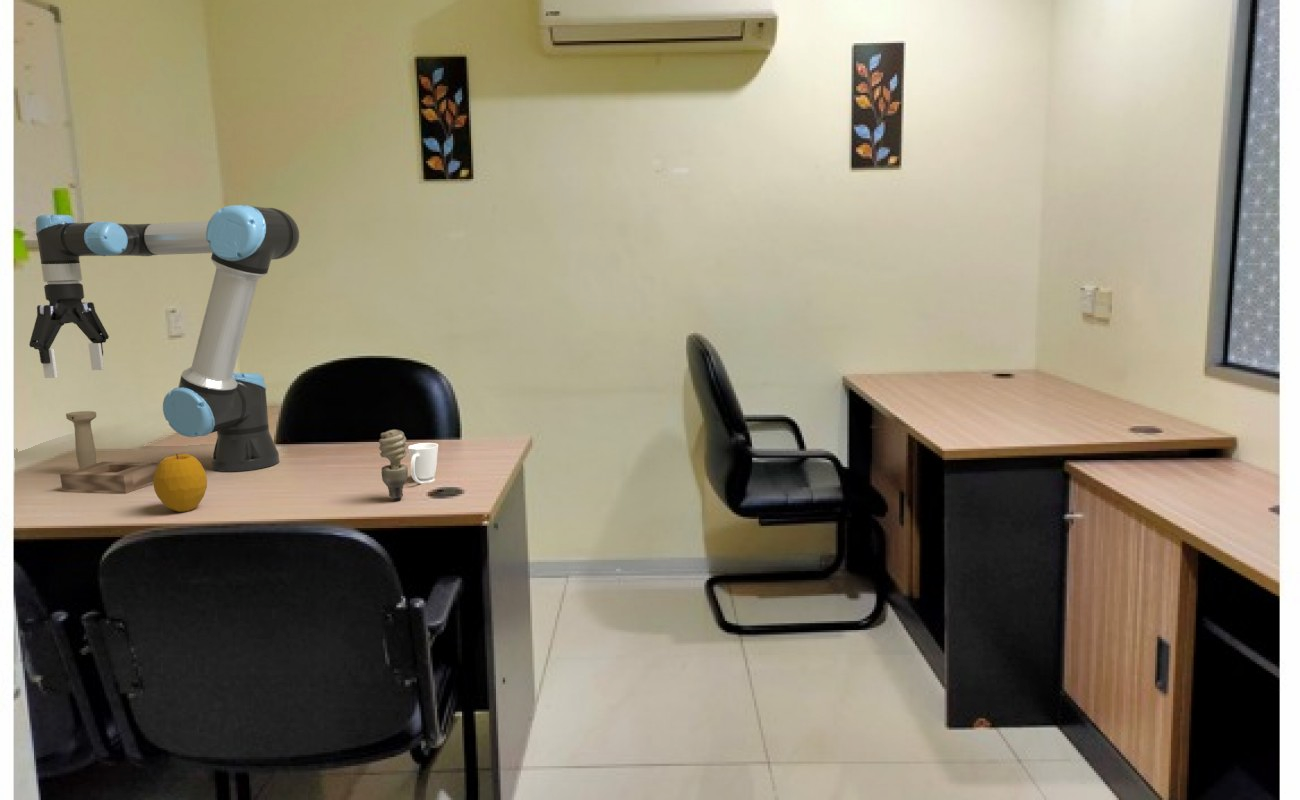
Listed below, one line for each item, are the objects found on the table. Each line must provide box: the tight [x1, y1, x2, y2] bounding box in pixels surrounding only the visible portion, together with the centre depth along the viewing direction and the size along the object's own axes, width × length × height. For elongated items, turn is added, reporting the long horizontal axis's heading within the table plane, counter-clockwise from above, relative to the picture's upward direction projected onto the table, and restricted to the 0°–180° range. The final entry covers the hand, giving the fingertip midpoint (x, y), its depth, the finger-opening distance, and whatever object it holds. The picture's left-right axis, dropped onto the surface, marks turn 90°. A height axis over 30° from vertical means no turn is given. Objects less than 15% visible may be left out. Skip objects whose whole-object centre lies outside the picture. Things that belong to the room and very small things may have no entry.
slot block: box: [59, 461, 160, 494], centre depth 198 cm, size 16×12×4 cm
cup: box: [407, 442, 439, 485], centre depth 195 cm, size 7×10×8 cm
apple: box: [152, 453, 208, 513], centre depth 177 cm, size 10×10×12 cm
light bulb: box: [378, 429, 409, 501], centre depth 180 cm, size 6×6×15 cm
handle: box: [65, 410, 97, 469], centre depth 208 cm, size 5×6×15 cm
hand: (75, 373), depth 206 cm, fingers open, 13 cm apart
